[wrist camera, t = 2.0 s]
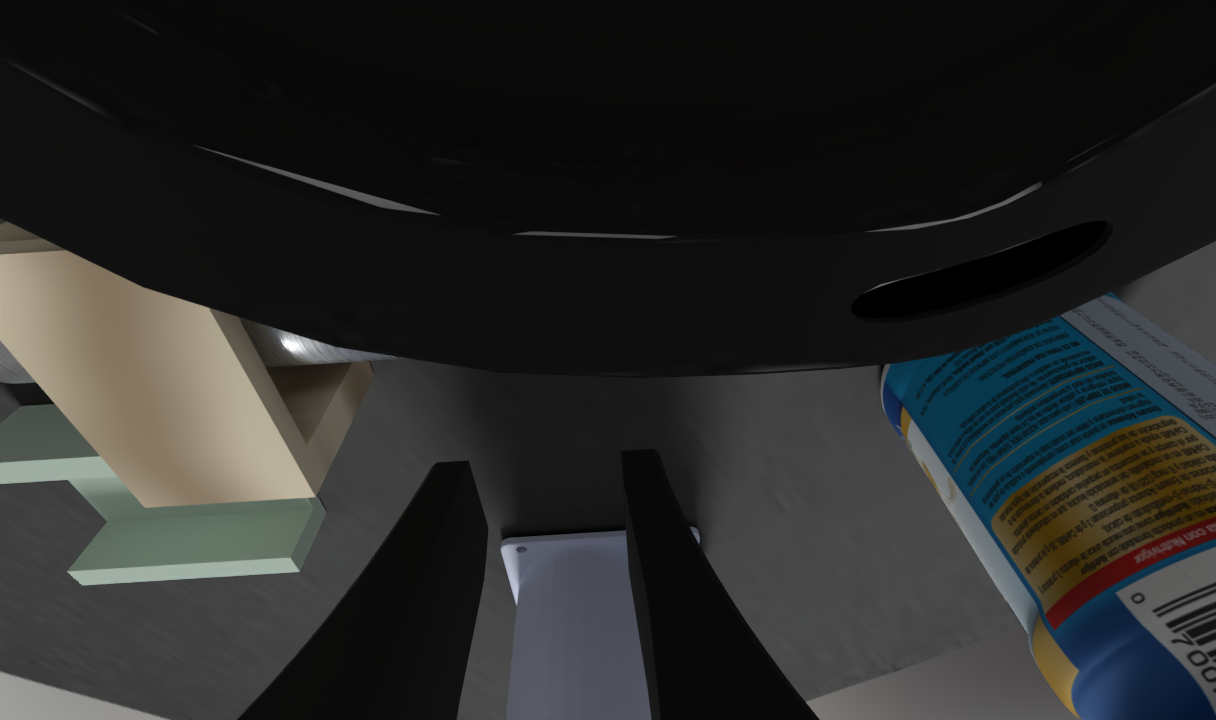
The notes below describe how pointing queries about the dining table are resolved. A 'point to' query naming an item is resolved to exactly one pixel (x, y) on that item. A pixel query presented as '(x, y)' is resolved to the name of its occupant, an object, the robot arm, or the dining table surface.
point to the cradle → (154, 514)
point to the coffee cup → (617, 169)
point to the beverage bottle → (1084, 498)
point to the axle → (267, 341)
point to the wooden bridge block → (170, 383)
